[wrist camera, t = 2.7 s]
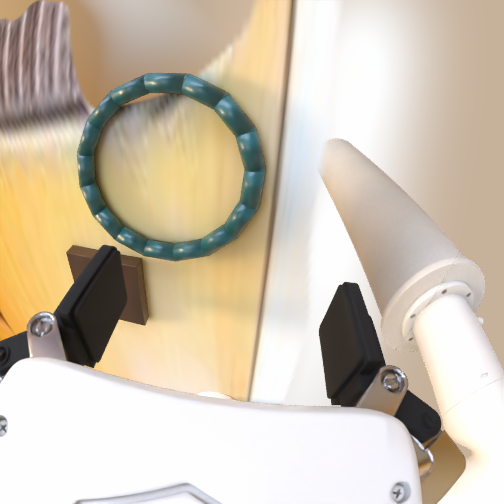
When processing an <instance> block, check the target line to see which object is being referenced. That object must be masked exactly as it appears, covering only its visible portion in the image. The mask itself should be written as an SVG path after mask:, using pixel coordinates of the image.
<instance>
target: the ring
mask: <svg viewBox="0 0 504 504" xmlns="http://www.w3.org/2000/svg"><path fill="white" fill-rule="evenodd" d="M148 93H177V94H184V95H186V96H188V97H190V98H192V99H194V100H196V101H198V102H200V103H202V104H204V105H206V106H208V107H210V108H212V109H214V111H215V112H216V113H217V114H218V115H219V117H220V118H221V119H222V120H223V122H224V123H225V124H226V125H227V127H228V128H229V129H230V130H231V131H232V133H233V134H234V135H235V137H236V140H237V143H238V147H239V151H240V154H241V158H242V162H243V165H244V169H245V170H244V177H243V183H242V190H241V197H240V201H239V202H238V204H237V205H236V207H235V209H234V210H233V212H232V213H231V215H230V216H229V218H228V219H227V221H226V223H225V224H224V225H222V226H221V227H219V228H218V229H216V230H215V231H213V232H212V233H210V234H209V235H207V236H206V237H204V238H203V239H199V240H194V241H189V242H184V243H179V244H172V243H166V242H160V241H154V240H149V239H147V238H145V237H143V236H141V235H140V234H138V233H136V232H134V231H132V230H130V229H129V228H127V227H125V226H124V225H123V224H122V223H121V222H120V221H119V220H118V218H117V217H116V216H115V215H114V214H113V213H112V212H111V211H110V210H109V209H108V208H107V206H106V204H105V202H104V200H103V197H102V195H101V193H100V191H99V188H98V186H97V183H96V181H95V166H94V151H95V148H96V145H97V142H98V139H99V136H100V133H101V130H102V128H103V126H104V125H105V123H106V122H107V121H108V120H109V119H110V118H111V117H112V116H113V114H114V113H115V112H116V111H117V110H118V109H119V108H120V107H121V106H122V105H123V104H125V103H128V102H130V101H132V100H134V99H137V98H139V97H141V96H144V95H146V94H148ZM77 161H78V174H79V185H80V188H81V191H82V193H83V195H84V198H85V200H86V202H87V204H88V206H89V209H90V211H91V213H92V215H93V217H94V218H95V219H96V220H97V221H98V222H99V223H100V224H101V226H102V227H103V228H104V229H105V230H106V231H107V232H108V233H109V234H110V235H111V236H112V237H113V238H114V239H115V240H116V241H118V242H119V243H121V244H123V245H125V246H127V247H128V248H130V249H132V250H134V251H136V252H138V253H140V254H141V255H143V256H147V257H153V258H159V259H164V260H170V261H182V260H188V259H193V258H199V257H205V256H209V255H211V254H212V253H214V252H216V251H217V250H219V249H220V248H222V247H224V246H225V245H227V244H229V243H230V242H232V241H233V240H235V239H237V238H238V237H239V236H240V234H241V233H242V231H243V230H244V228H245V227H246V225H247V224H248V223H249V221H250V220H251V218H252V217H253V215H254V214H255V213H256V211H257V210H258V208H259V204H260V199H261V194H262V188H263V183H264V178H265V172H266V166H265V162H264V158H263V154H262V150H261V146H260V142H259V138H258V134H257V130H256V127H255V126H254V124H253V123H252V122H251V120H250V119H249V118H248V117H247V115H246V114H245V113H244V112H243V110H242V109H241V108H240V106H239V105H238V104H237V103H236V102H235V100H234V99H233V98H232V97H231V95H230V94H229V93H227V92H226V91H224V90H222V89H220V88H218V87H216V86H214V85H212V84H210V83H208V82H206V81H204V80H202V79H200V78H198V77H195V76H193V75H191V74H181V73H180V74H179V73H148V74H145V75H143V76H141V77H138V78H136V79H134V80H132V81H130V82H127V83H125V84H123V85H121V86H119V87H117V88H115V89H113V90H112V91H111V92H110V93H109V94H108V95H107V96H106V97H105V98H104V99H103V101H102V102H101V103H100V104H99V105H98V106H97V108H96V109H95V110H94V111H93V113H92V114H91V115H90V116H89V118H88V119H87V122H86V125H85V128H84V131H83V134H82V137H81V141H80V144H79V148H78V151H77Z"/></svg>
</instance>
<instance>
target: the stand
mask: <svg viewBox="0 0 504 504" xmlns="http://www.w3.org/2000/svg"><path fill="white" fill-rule="evenodd" d="M97 252H98V250H94V249H89V248H84V247H79V246H74V245H73V246H72V247H71V248H70V249H69V250H68V251H67V252H66V253H67V257H68V261H69V265H70V268H71V272H72V275H73V279H74V282H75V281H76V279H77V278H78V277H79V275H80V274H81V273H82V272H83V270H84V269H85V268H86V266H87V265H88V264H89V262H90V261H91V260H92V258H93V257H94V256H95V254H96V253H97ZM121 262H122V268H123V274H124V280H125V286H126V291H127V297H128V298H127V303H126V306H125V308H124V310H123V312H122V314H121V316H120V318H119V319H120V320H124V321H128V322H132V323H136V324H140V325H146V322H147V320H148V317H149V316H148V309H147V302H146V295H145V287H144V278H143V269H142V259H141V258H137V257H131V256H126V255H121Z"/></svg>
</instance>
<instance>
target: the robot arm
mask: <svg viewBox="0 0 504 504" xmlns="http://www.w3.org/2000/svg"><path fill="white" fill-rule="evenodd" d="M127 298H128V297H127V291H126V286H125V280H124V274H123V268H122V262H121V255H120V252H119V251H117V248H116V247H114V246H108V245H103V246H102V247H101V248H100V249H99V250H98V252H97V253H96V254H95V256H94V257H93V258H92V260H91V261H90V262H89V264H88V265H87V266H86V268H85V269H84V270H83V272H82V273H81V274H80V275H79V277H78V278H77V279H76V281H75V282H74V284H73V285H72V287H71V288H70V289H69V291H68V292H67V294H66V295H65V297H64V298H63V300H62V301H61V303H60V304H59V306H58V307H57V309H56V310H55V312H54V314H52V313H50V312H40V313H37V314H35V315H34V316H33V317H32V318H31V319H30V320H29V322H28V324H27V331H25V332H22V333H20V334H17V335H15V336H12V337H10V338H7V339H5V340H2V341H0V504H504V372H503V369H502V367H501V365H500V363H499V360H498V359H497V356H496V354H495V352H494V350H493V348H492V346H491V344H490V342H489V340H488V338H487V336H486V335H485V333H484V331H483V329H482V327H481V325H482V324H483V318H481V317H480V318H479V317H476V315H475V314H474V312H473V310H472V306H473V302H474V295H473V292H472V290H471V288H470V287H469V286H468V285H467V284H466V283H464V282H462V281H449V282H445V283H442V284H439V285H437V286H435V287H433V288H431V289H430V290H428V291H427V292H425V293H424V294H423V295H421V296H420V297H419V298H418V299H417V300H416V301H415V302H414V303H413V304H412V305H411V306H410V308H409V309H408V311H407V312H406V314H405V316H404V318H403V320H402V324H401V331H402V334H403V337H404V339H405V340H406V341H407V342H408V343H410V344H413V345H418V347H419V350H420V352H421V355H422V358H423V360H424V363H425V366H426V369H427V372H428V375H429V378H430V381H431V384H432V387H433V390H434V393H435V396H436V400H437V403H438V406H439V410H440V413H441V417H442V421H443V424H444V428H445V430H444V431H442V430H441V419H440V416H439V415H438V413H437V412H436V411H435V410H434V409H432V408H431V407H430V406H429V405H427V404H426V403H425V402H423V401H422V400H421V399H419V398H418V397H417V396H415V395H414V394H413V393H411V392H410V391H409V390H407V388H408V379H407V377H406V375H405V373H404V372H403V371H402V370H400V368H398V367H396V366H392V365H387V366H386V364H385V360H384V357H383V353H382V350H381V347H380V344H379V340H378V337H377V334H376V330H375V327H374V324H373V321H372V318H371V317H370V316H369V315H368V311H367V309H366V306H365V303H364V300H363V297H362V294H361V291H360V288H359V285H358V284H357V283H350V282H344V283H343V285H339V286H338V289H337V291H336V293H335V295H334V297H333V300H332V302H331V304H330V306H329V308H328V310H327V313H326V315H325V317H324V319H323V321H322V323H321V325H320V328H319V336H320V344H321V351H322V358H323V366H324V373H325V382H326V390H327V397H328V398H329V399H331V403H332V405H341V407H327V406H297V405H279V404H266V403H255V402H246V401H237V400H229V399H222V398H215V397H208V396H202V395H196V394H191V393H185V392H180V391H175V390H170V389H166V388H161V387H157V386H152V385H148V384H144V383H140V382H136V381H132V380H129V379H125V378H121V377H118V376H114V375H111V374H107V373H104V372H101V371H97V370H94V369H91V368H88V367H85V366H84V365H86V366H89V367H92V368H94V366H95V364H96V362H97V363H98V362H99V361H100V360H101V357H102V355H103V353H104V351H105V348H106V346H107V344H108V342H109V339H110V337H111V335H112V333H113V331H114V329H115V326H116V324H117V322H118V320H119V318H120V316H121V314H122V312H123V310H124V308H125V306H126V303H127ZM453 441H455V442H457V443H459V444H461V445H463V446H465V447H467V448H469V449H470V450H471V451H472V453H471V455H469V456H468V457H466V458H465V457H464V455H463V454H462V452H461V451H460V450H459V448H458V447H457V446H456V444H455V443H454V442H453Z"/></svg>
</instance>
